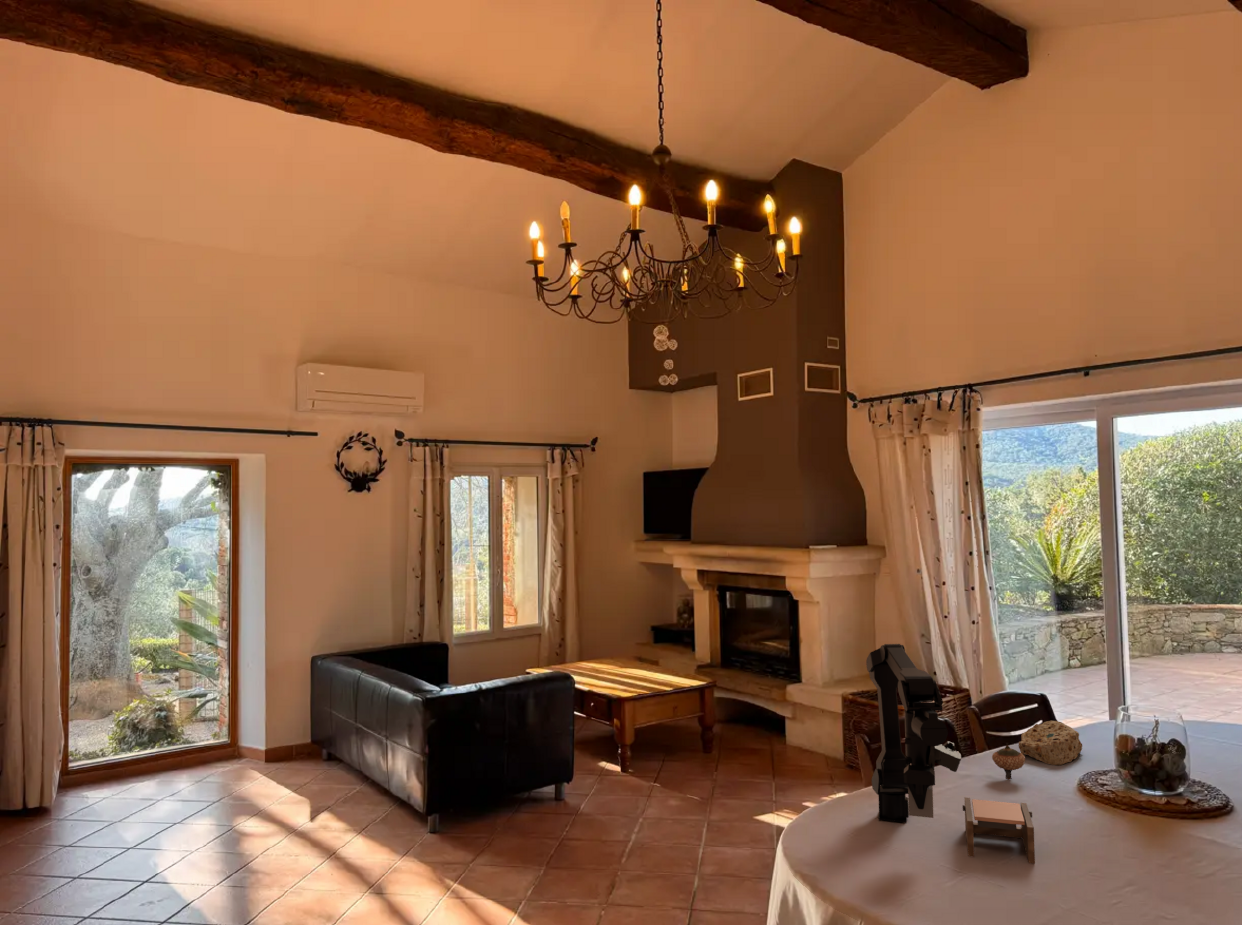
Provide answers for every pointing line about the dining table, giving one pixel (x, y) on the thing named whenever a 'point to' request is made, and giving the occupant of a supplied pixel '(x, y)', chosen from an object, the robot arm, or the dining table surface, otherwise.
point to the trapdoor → (997, 814)
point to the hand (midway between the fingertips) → (920, 804)
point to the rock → (1051, 743)
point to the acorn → (1008, 760)
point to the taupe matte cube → (927, 806)
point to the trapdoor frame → (1001, 831)
